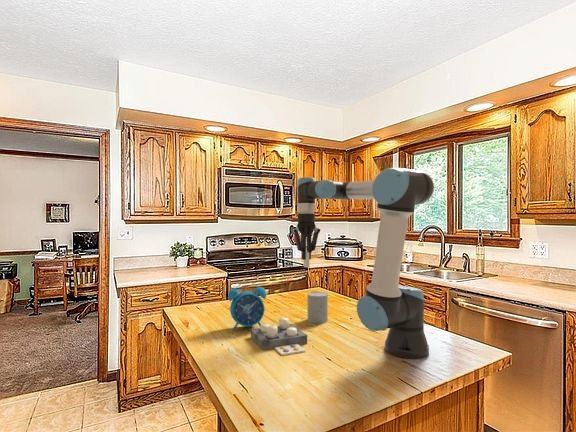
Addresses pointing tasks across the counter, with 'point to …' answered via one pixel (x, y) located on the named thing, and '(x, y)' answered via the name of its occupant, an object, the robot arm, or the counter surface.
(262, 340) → the button board
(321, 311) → the speckled white tin can
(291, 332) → the button
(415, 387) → the counter surface
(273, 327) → the button
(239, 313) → the alarm clock
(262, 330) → the button
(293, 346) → the card
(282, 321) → the button
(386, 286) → the robot arm
